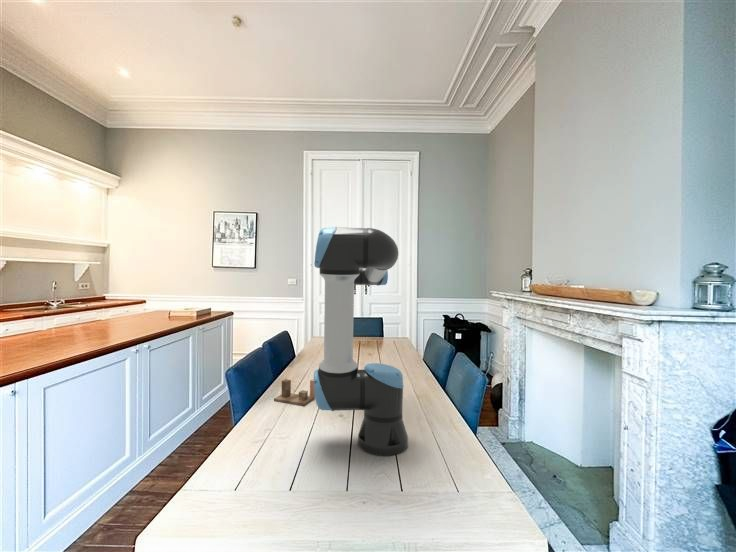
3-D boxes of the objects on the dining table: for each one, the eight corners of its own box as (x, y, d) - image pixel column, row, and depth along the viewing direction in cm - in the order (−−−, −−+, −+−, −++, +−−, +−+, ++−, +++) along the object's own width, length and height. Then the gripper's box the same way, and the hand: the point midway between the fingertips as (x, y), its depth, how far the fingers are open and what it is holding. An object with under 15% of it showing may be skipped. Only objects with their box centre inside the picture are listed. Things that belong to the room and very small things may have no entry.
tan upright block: (321, 398, 142) (321, 382, 142) (309, 396, 144) (310, 380, 143) (326, 393, 147) (327, 378, 147) (316, 392, 148) (316, 377, 148)
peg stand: (314, 399, 140) (314, 380, 140) (304, 406, 132) (304, 386, 132) (285, 394, 145) (285, 376, 145) (273, 401, 137) (274, 382, 137)
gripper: (345, 300, 135) (344, 354, 135) (354, 295, 160) (353, 341, 160) (326, 299, 136) (325, 353, 136) (338, 295, 161) (337, 340, 161)
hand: (340, 346), depth 148 cm, fingers open, 13 cm apart
